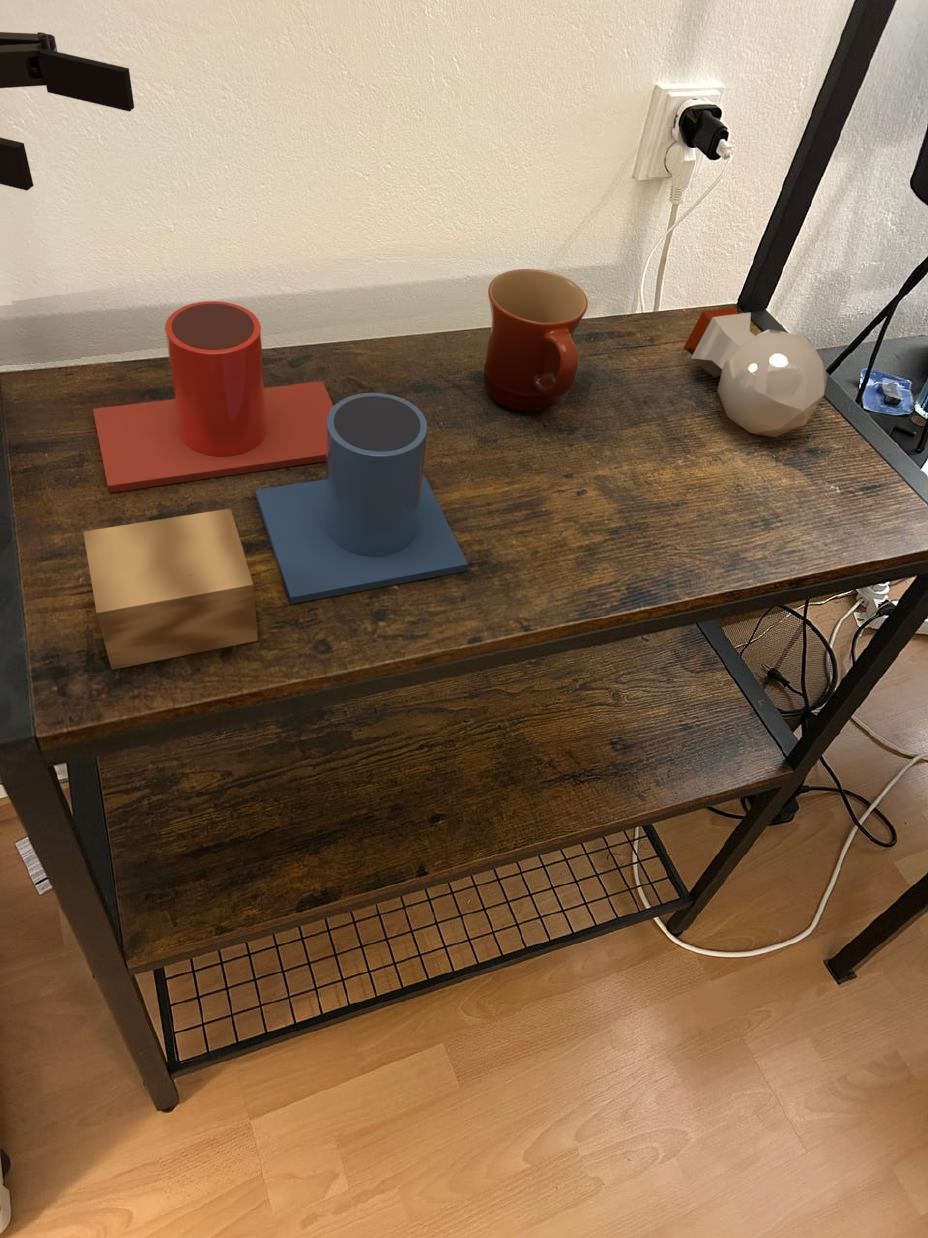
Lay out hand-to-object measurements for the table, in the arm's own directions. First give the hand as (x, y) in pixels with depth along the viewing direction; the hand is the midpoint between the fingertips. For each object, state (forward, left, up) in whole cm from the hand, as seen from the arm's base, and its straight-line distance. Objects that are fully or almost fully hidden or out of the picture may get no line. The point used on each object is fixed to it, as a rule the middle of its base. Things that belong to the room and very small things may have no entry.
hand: (81, 126), depth 66 cm
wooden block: (0, -24, -24) cm, 34 cm away
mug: (+35, -6, -24) cm, 43 cm away
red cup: (+7, -5, -23) cm, 25 cm away
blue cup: (+16, -19, -23) cm, 34 cm away
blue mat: (+15, -19, -24) cm, 34 cm away
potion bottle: (+55, -11, -24) cm, 61 cm away
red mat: (+7, -5, -24) cm, 25 cm away
